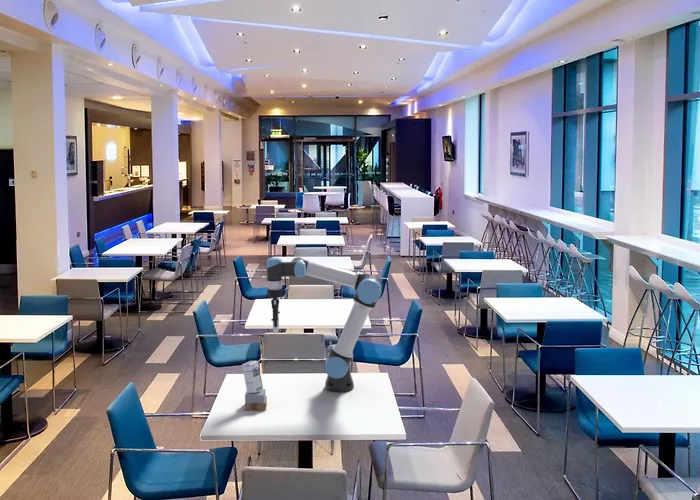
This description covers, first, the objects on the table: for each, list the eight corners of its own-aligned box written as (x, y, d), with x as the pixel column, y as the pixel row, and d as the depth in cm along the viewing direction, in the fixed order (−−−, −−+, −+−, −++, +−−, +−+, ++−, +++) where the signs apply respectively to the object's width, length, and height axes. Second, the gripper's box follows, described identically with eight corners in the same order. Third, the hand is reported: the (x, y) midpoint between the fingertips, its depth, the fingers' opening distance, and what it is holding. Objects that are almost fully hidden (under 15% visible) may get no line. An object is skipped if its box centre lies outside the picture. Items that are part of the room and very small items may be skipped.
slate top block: (265, 396, 369) (265, 389, 369) (263, 403, 361) (263, 395, 360) (247, 397, 369) (247, 389, 369) (245, 403, 360) (244, 395, 360)
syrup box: (255, 392, 360) (250, 363, 359) (246, 392, 364) (241, 363, 363) (263, 389, 365) (258, 360, 364) (254, 389, 368) (249, 360, 367)
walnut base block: (266, 404, 371) (266, 396, 370) (265, 411, 361) (265, 403, 360) (246, 404, 370) (246, 397, 370) (244, 411, 360) (244, 403, 360)
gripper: (267, 284, 388) (269, 324, 391) (266, 293, 363) (267, 336, 366) (282, 283, 388) (283, 323, 391) (282, 293, 364) (283, 335, 367)
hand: (276, 329), depth 379 cm, fingers open, 13 cm apart
